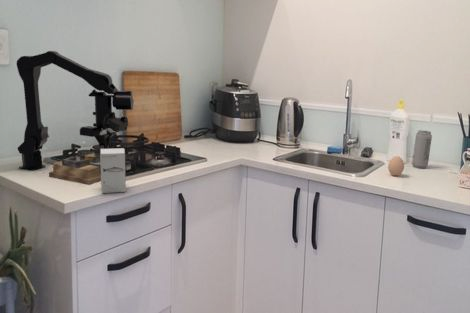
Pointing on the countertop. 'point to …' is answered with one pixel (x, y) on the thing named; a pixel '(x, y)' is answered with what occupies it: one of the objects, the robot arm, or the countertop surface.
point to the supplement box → (112, 170)
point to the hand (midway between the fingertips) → (105, 151)
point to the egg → (396, 166)
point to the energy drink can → (422, 149)
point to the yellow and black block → (96, 152)
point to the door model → (78, 169)
